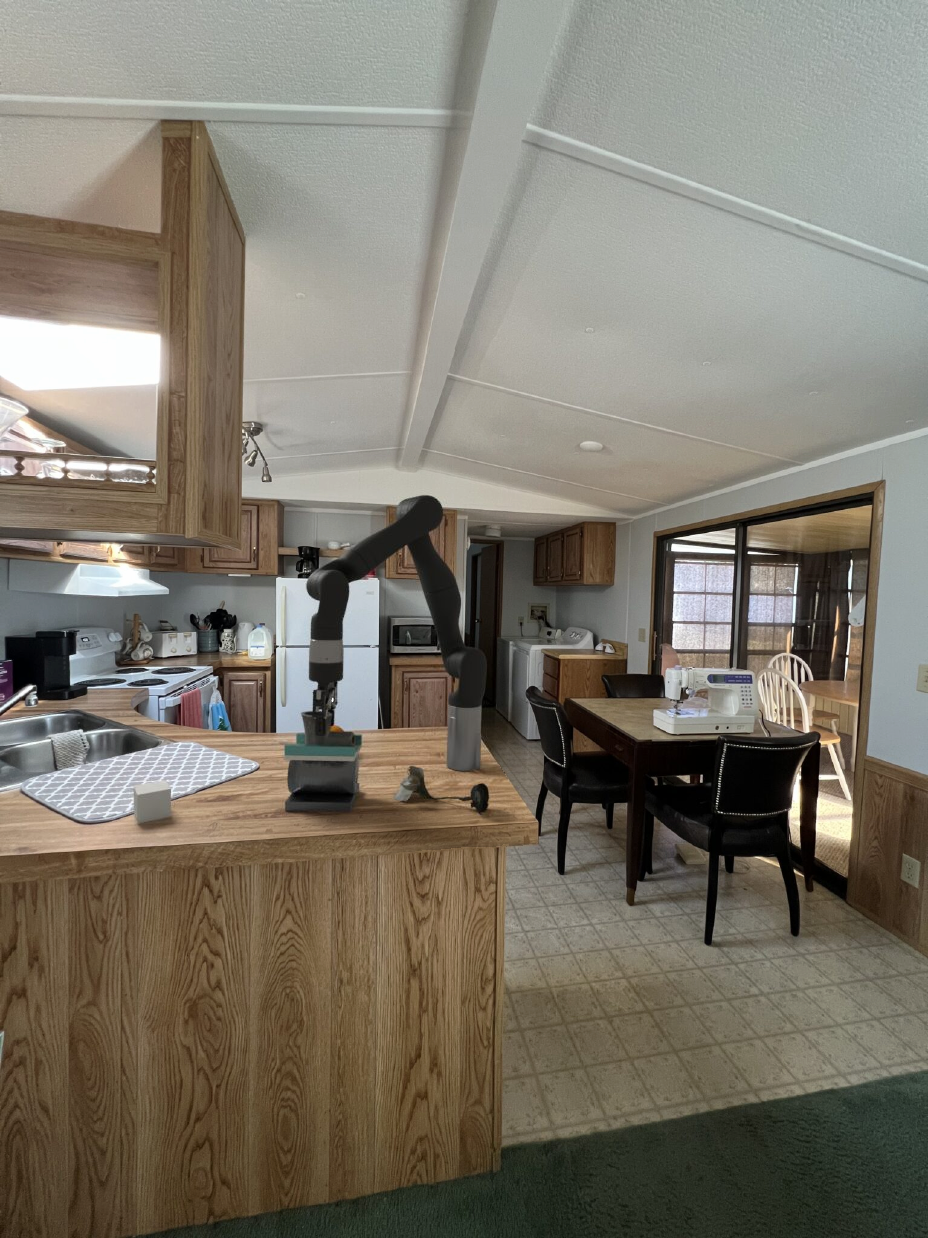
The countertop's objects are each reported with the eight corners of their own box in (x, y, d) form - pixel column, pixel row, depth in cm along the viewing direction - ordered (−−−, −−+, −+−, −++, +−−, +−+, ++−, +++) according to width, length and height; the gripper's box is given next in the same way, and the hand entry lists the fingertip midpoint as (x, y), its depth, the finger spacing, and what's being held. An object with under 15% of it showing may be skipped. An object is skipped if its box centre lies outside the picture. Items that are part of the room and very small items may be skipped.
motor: (361, 791, 128) (362, 733, 127) (352, 812, 116) (353, 748, 115) (297, 790, 127) (298, 732, 127) (282, 811, 115) (283, 746, 115)
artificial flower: (475, 827, 114) (466, 786, 111) (391, 814, 125) (381, 776, 123) (493, 803, 121) (484, 763, 119) (412, 793, 132) (403, 756, 130)
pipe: (348, 754, 117) (349, 718, 117) (294, 750, 119) (294, 714, 119) (358, 747, 123) (359, 712, 123) (306, 742, 125) (307, 708, 125)
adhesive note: (133, 814, 112) (133, 785, 112) (165, 807, 116) (166, 780, 115) (137, 824, 107) (137, 794, 107) (170, 817, 111) (170, 788, 111)
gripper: (336, 664, 113) (335, 739, 114) (348, 655, 127) (347, 723, 128) (300, 663, 113) (299, 739, 114) (317, 655, 127) (316, 722, 128)
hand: (325, 730), depth 121 cm, fingers open, 8 cm apart
